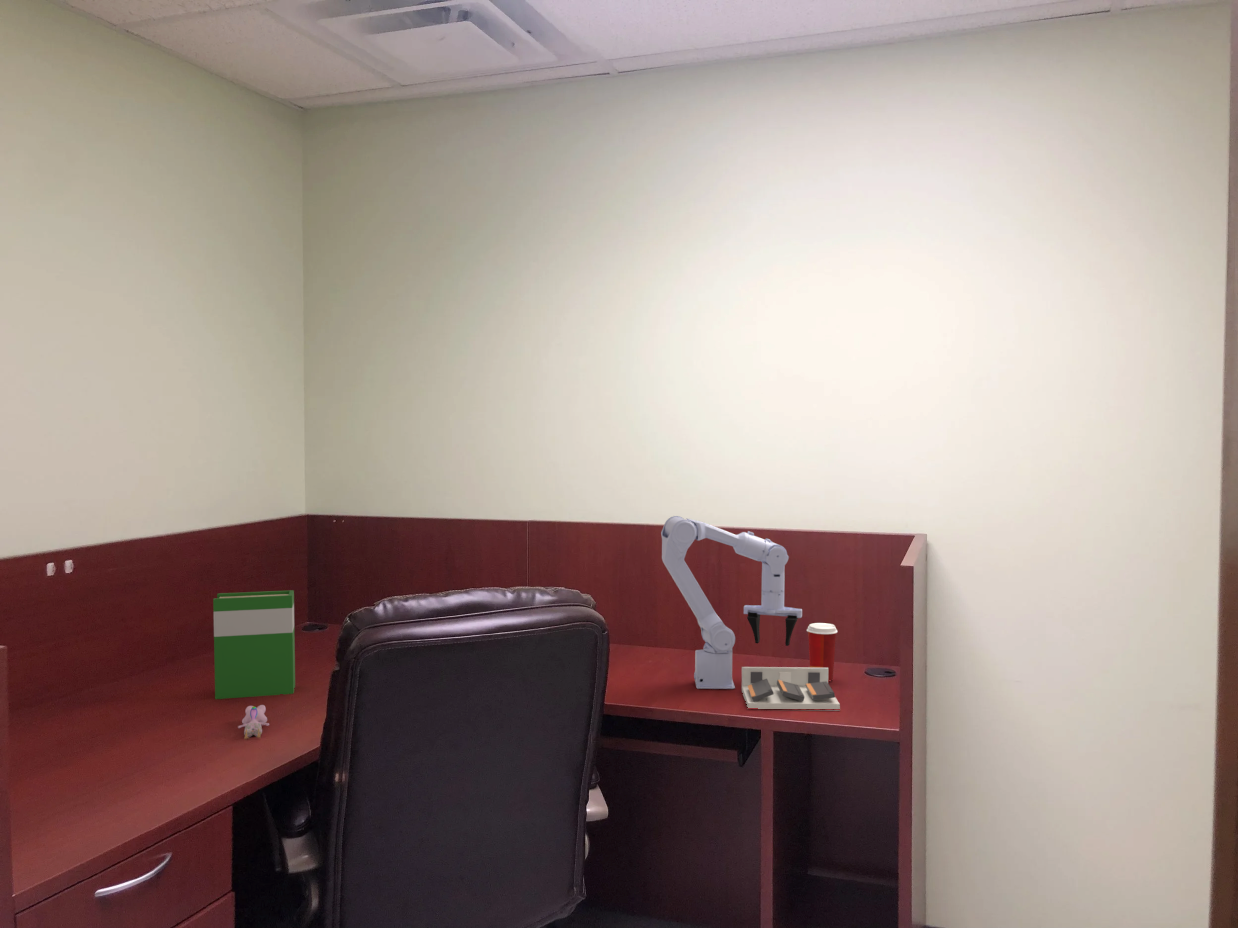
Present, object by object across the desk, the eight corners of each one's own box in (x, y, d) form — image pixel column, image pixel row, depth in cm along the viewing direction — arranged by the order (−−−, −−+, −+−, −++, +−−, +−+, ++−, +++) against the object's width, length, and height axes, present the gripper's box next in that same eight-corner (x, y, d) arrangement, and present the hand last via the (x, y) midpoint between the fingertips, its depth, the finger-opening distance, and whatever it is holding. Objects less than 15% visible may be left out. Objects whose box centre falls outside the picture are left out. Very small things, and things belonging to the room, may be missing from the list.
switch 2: (782, 695, 223) (783, 690, 223) (776, 683, 233) (777, 678, 233) (803, 701, 223) (804, 696, 223) (796, 688, 233) (797, 684, 233)
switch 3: (813, 699, 223) (812, 695, 223) (806, 687, 233) (805, 683, 233) (834, 697, 223) (834, 692, 223) (826, 685, 233) (826, 680, 233)
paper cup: (834, 675, 251) (835, 622, 251) (838, 684, 244) (839, 629, 243) (804, 675, 252) (805, 621, 251) (807, 683, 244) (808, 628, 244)
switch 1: (753, 701, 223) (751, 697, 223) (748, 689, 233) (747, 685, 233) (773, 694, 223) (772, 689, 223) (768, 682, 233) (766, 677, 233)
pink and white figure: (268, 744, 202) (271, 712, 216) (268, 718, 201) (271, 687, 215) (236, 747, 201) (241, 714, 214) (235, 720, 199) (240, 689, 213)
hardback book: (215, 699, 230) (213, 599, 228) (219, 690, 237) (217, 593, 236) (293, 693, 234) (291, 595, 233) (295, 685, 241) (293, 590, 240)
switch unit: (748, 709, 222) (748, 683, 222) (741, 690, 237) (741, 666, 237) (839, 710, 222) (840, 684, 222) (827, 691, 237) (827, 667, 237)
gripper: (741, 591, 243) (740, 644, 243) (799, 594, 238) (798, 649, 238) (747, 586, 249) (746, 638, 250) (803, 590, 244) (803, 643, 245)
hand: (772, 643), depth 245 cm, fingers open, 7 cm apart
